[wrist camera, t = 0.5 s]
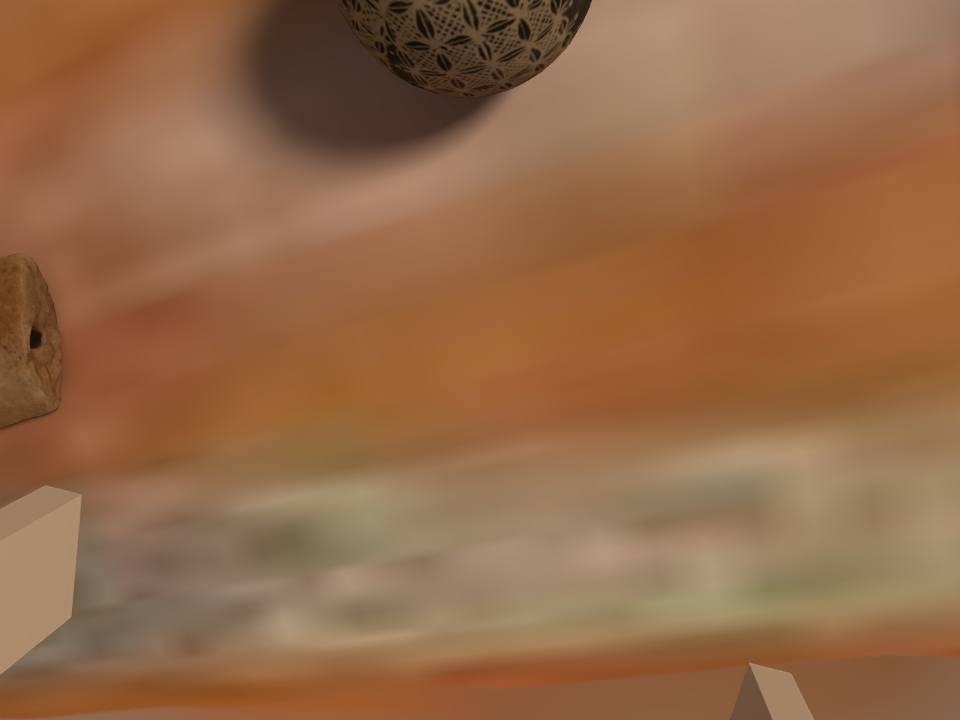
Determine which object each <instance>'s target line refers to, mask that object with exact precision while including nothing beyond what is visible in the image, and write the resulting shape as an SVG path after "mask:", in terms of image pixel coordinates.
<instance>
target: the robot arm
mask: <svg viewBox="0 0 960 720" xmlns="http://www.w3.org/2000/svg"><path fill="white" fill-rule="evenodd" d="M81 498H82V494H78V493H74V492H70V491H66V490H62V489H58V488H54V487H50V486H46V485H45V486H43V487H41V488H39V489H38V490H36V491H34V492H32V493H30V494H28V495H26V496H24V497H22V498H20V499H18V500H16V501H14V502H12V503H10V504H8V505H7V506H5V507H3V508H1V509H0V674H2V673H3V672H4V671H5V670H7V669H8V668H9V667H10V666H12V665H13V664H14V663H15V662H17V661H18V660H19V659H20V658H21V657H23V656H24V655H25V654H26V653H28V652H29V651H30V650H31V649H33V648H34V647H35V646H36V645H37V644H39V643H40V642H41V641H42V640H44V639H45V638H46V637H47V636H49V635H50V634H51V633H52V632H54V631H55V630H56V629H57V628H58V627H60V626H61V625H62V624H63V623H65V622H66V621H67V620H68V619H70V618H71V615H72V603H73V592H74V580H75V568H76V556H77V545H78V533H79V521H80V509H81ZM730 720H814V719H813V717H812V715H811V713H810V711H809V709H808V707H807V705H806V703H805V701H804V699H803V696H802V695H801V693H800V690H799V688H798V686H797V684H796V683H795V681H794V678H793V676H792V674H791V673H788V672H784V671H780V670H776V669H772V668H768V667H764V666H760V665H756V664H752V663H749V664H748V667H747V670H746V674H745V676H744V680H743V682H742V686H741V689H740V692H739V695H738V698H737V701H736V704H735V707H734V710H733V713H732V716H731V719H730Z"/></svg>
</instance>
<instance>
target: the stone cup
mask: <svg viewBox="0 0 960 720" xmlns="http://www.w3.org/2000/svg"><path fill="white" fill-rule="evenodd" d="M61 361H62V350H61V336H60V333H59V330H58V327H57V318H56V314H55V308H54V303H53V301H52V298H51V296H50V294H49V292H48V285H47V283H46V282H45V280H44V278H43V276H42V274H41V272H40V270H39V268H38V266H37V264H36V263H35V261H34V259H32V258H31V257H30V256H29V255H28V254H20V253H18V254H13V255H9V256H5V257H1V258H0V428H3V427H6V426H9V425H12V424H14V423H17V422H20V421H22V420H25V419H28V418H31V417H37V416H41V415H44V414H47V413H49V412H51V411H53V410H55V409H57V407H58V405H59V402H60V383H61V377H62V366H61Z"/></svg>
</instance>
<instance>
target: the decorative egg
mask: <svg viewBox="0 0 960 720" xmlns="http://www.w3.org/2000/svg"><path fill="white" fill-rule="evenodd" d="M591 1H592V0H336V2H337V4H338V6H339V8H340V11H341V13H342V15H343V16H344V18H345V19H346V21H347V23H348V24H349V26H350V27H351V29H352V31H353V32H354V34H355V35H356V36H357V38H358V39H359V40H360V42H361V43H362V44H363V45H364V46H365V48H366V49H367V50H368V51H369V52H370V53H371V54H372V55H373V56H374V57H375V58H376V59H377V60H378V61H379V62H380V63H382V64H383V65H384V66H385V67H386V68H388V69H389V70H390V71H391V72H392V73H394V74H395V75H397V76H398V77H400V78H402V79H403V80H405V81H407V82H409V83H410V84H412V85H414V86H417V87H420V88H422V89H425V90H428V91H430V92H433V93H437V94H442V95H448V96H455V97H481V96H487V95H491V94H495V93H499V92H503V91H507V90H510V89H512V88H514V87H516V86H519V85H521V84H523V83H524V82H526V81H528V80H530V79H531V78H533V77H534V76H536V75H538V74H539V73H541V72H542V71H543V70H544V69H545V68H547V67H548V66H549V65H550V64H551V63H552V62H553V61H554V60H555V59H556V58H557V57H558V56H559V55H560V54H561V53H562V52H563V51H564V50H565V49H566V48H567V46H568V45H569V44H570V42H571V41H572V39H573V38H574V36H575V34H576V33H577V31H578V29H579V27H580V26H581V24H582V22H583V20H584V18H585V16H586V14H587V12H588V10H589V7H590V4H591Z"/></svg>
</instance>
